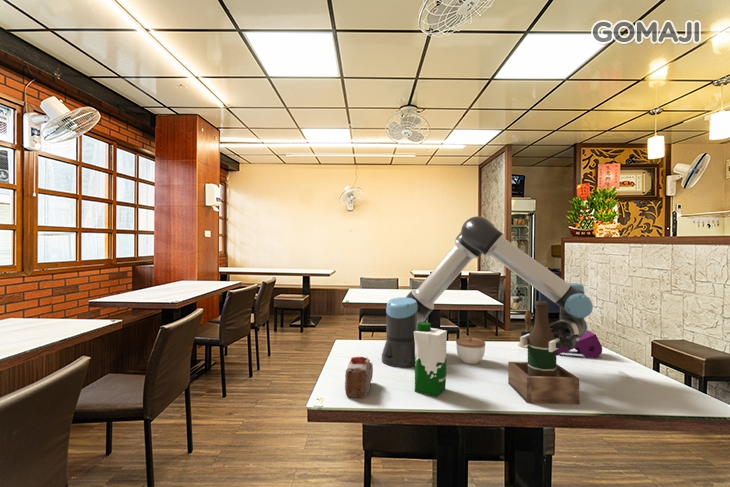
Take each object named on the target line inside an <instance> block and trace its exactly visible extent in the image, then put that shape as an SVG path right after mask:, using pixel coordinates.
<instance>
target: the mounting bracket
mask: <svg viewBox="0 0 730 487" xmlns="http://www.w3.org/2000/svg"><path fill="white" fill-rule="evenodd" d="M574 349H575V351H577V352H578V353H580V354H581V355H583V356H584V357H585V358H587V359H596V358H598V357H600V356H601V355H602V352H603V345H602V344H601V341H600V339H599V338H598V335H596V334H595V333H594V332H592V331H590V330H588V329H587V331H586V333H585V334H584V335H583V336H582V337H580V338H579V343H578V344H576V345H575V346H574V347H573V348H572V349H568V347H565V348H559V349H557V350H556V355H561V354H563V353H566V352H569V351H571V350H574Z"/></svg>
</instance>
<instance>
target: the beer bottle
mask: <svg viewBox="0 0 730 487" xmlns="http://www.w3.org/2000/svg"><path fill="white" fill-rule="evenodd" d="M534 305H535V314H534V325H533V328H531V329H532V331H531V332H530V334H529V337H528V348H527V362H528V375H529V376H544V377H556V364H557V354H556V350H555V351H553V352H549V342H550V341H552V340H554V339H555V337H554V334H553V333H552V331H551V330H550V327H549V325H550V324H549V322H550V321H549V310H548V309H549V308H548V306H549V303H548V301H546V300H536V301H535V302H534Z"/></svg>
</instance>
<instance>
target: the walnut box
mask: <svg viewBox="0 0 730 487" xmlns="http://www.w3.org/2000/svg"><path fill="white" fill-rule="evenodd" d="M507 363H508V367H507V369H508V370H507V372H508V373H507V376H508V380H507V381H508V382H507V383H508V385H509V386H510V387H511V388H512V389H513V390H514V391H515V392H516V393H517V394H518V395H519V396H520V397H521V399H523V401H524V402H525V403H527V404H560V405H561V404H562V405H565V404H566V405H567V404H568V405H580V378H579V377H577V376H576V375H575V374H572V373H571V372H569V371H568V370H567V369H565V368H563V367H562V366H561V365H559V364H557V363H556V377H544V376H529V375H528V361H508V362H507Z"/></svg>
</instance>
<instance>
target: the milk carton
mask: <svg viewBox="0 0 730 487" xmlns="http://www.w3.org/2000/svg"><path fill="white" fill-rule="evenodd" d="M431 326H432V324H431V323H430V322H427V321H424V322H419V323H418V326H417V330H416V331H414V339H415V366H414V392H416V393H419V394H424V395H429V396H433V397H437V398H438V397H439V396H440V395H441V394H442V393H443V392H444V391H445V390H446V385H447V384H446V382H447V338H448V336H447V335H448V334H447V333H448V330H445V329H444V330H443V329H440V328H434V327H431Z"/></svg>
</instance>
